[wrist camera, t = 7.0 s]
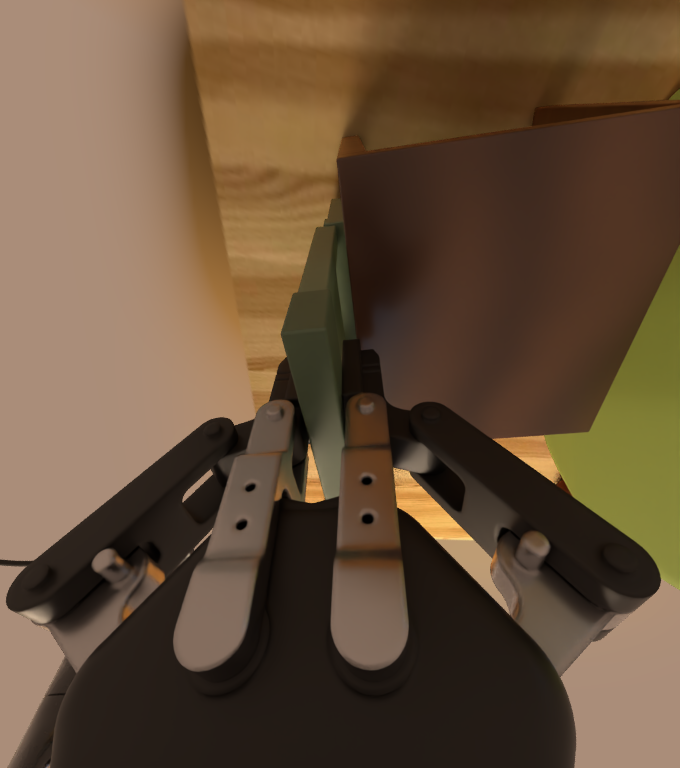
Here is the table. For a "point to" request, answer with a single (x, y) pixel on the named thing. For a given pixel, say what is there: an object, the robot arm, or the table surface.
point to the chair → (322, 345)
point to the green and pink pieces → (637, 437)
